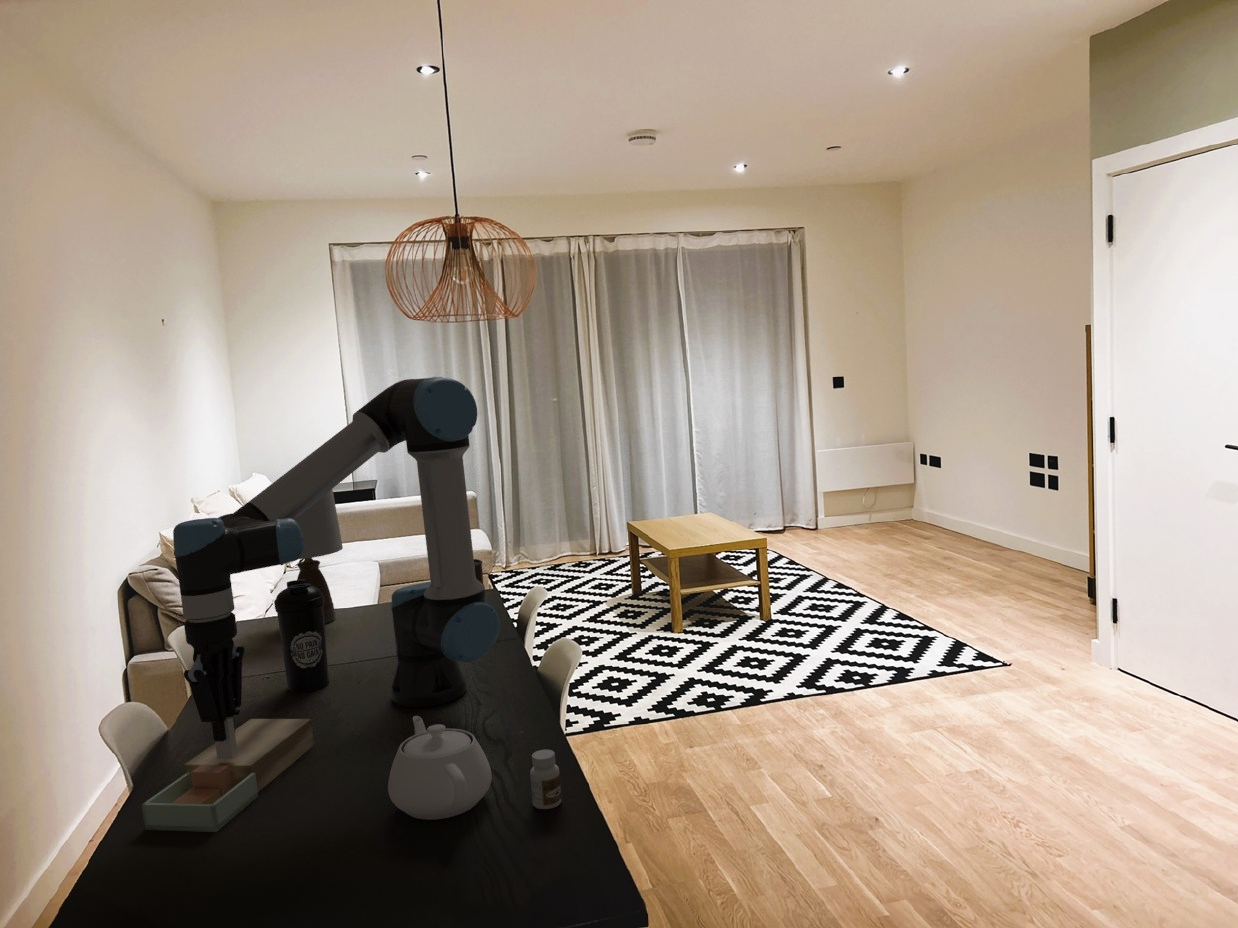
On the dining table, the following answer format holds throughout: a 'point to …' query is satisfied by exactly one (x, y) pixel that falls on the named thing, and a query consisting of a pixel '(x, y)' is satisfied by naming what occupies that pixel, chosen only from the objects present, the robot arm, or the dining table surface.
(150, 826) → the tray
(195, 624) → the robot arm
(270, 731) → the long beige platform
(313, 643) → the water bottle
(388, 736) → the dining table surface
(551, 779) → the pill bottle
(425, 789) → the teapot
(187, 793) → the tile
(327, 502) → the lamp
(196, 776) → the tile
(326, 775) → the dining table surface
